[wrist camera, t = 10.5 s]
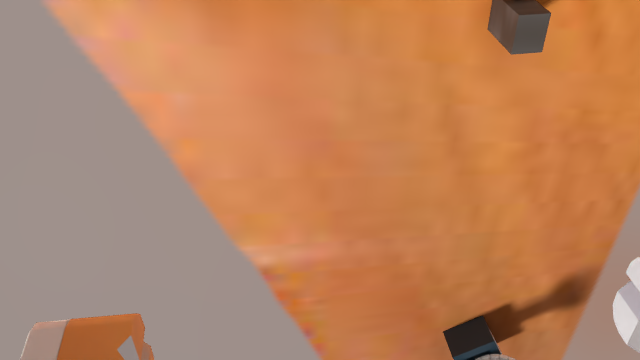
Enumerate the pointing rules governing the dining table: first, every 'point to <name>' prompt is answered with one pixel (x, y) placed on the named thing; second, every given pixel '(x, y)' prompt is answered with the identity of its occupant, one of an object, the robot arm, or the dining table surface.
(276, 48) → the dining table surface
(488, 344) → the watch
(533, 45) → the hammer
